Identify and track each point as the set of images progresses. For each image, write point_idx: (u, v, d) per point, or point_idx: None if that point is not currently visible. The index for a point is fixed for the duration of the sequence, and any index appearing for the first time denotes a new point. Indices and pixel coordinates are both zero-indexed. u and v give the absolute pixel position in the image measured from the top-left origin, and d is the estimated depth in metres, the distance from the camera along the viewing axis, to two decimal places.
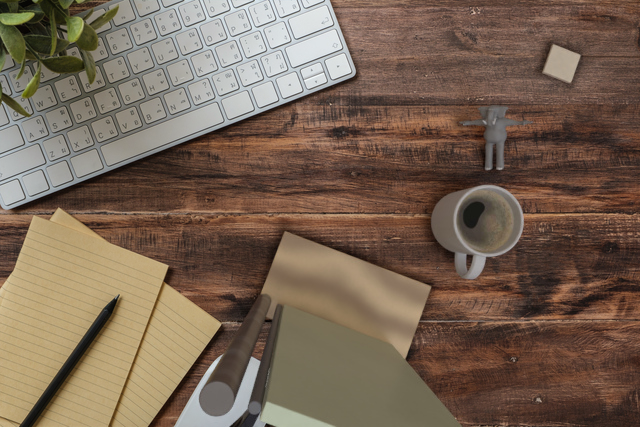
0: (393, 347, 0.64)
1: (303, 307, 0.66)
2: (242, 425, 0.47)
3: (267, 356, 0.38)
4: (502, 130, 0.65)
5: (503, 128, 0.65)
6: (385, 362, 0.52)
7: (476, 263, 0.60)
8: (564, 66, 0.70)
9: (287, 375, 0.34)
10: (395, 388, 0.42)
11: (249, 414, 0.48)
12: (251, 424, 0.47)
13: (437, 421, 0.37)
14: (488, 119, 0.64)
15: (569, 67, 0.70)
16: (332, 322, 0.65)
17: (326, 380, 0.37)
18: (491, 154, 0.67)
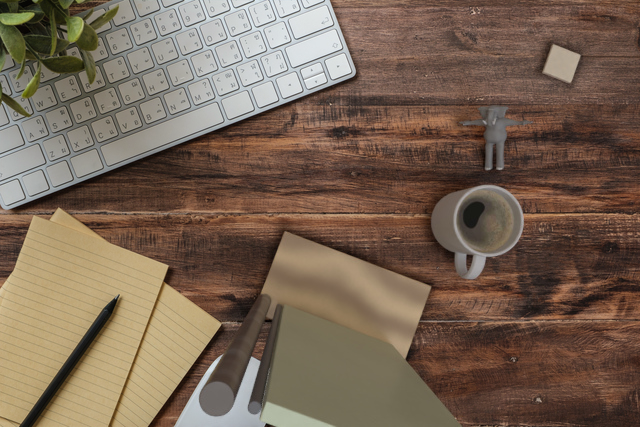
0: (393, 347, 0.64)
1: (303, 307, 0.66)
2: None
3: (267, 356, 0.38)
4: (502, 130, 0.65)
5: (503, 128, 0.65)
6: (385, 362, 0.52)
7: (476, 263, 0.60)
8: (564, 66, 0.70)
9: (287, 375, 0.34)
10: (395, 388, 0.42)
11: None
12: None
13: (437, 421, 0.37)
14: (488, 119, 0.64)
15: (569, 67, 0.70)
16: (332, 322, 0.65)
17: (326, 380, 0.37)
18: (491, 154, 0.67)
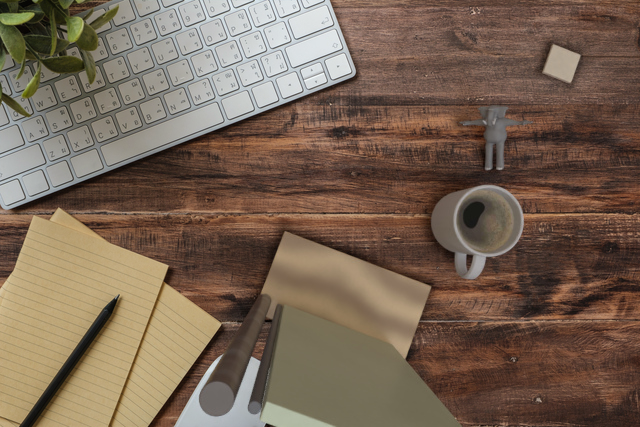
0: (393, 347, 0.64)
1: (303, 307, 0.66)
2: None
3: (267, 356, 0.38)
4: (502, 130, 0.65)
5: (503, 128, 0.65)
6: (385, 362, 0.52)
7: (476, 263, 0.60)
8: (564, 66, 0.70)
9: (287, 375, 0.34)
10: (395, 388, 0.42)
11: None
12: None
13: (437, 421, 0.37)
14: (488, 119, 0.64)
15: (569, 67, 0.70)
16: (332, 322, 0.65)
17: (326, 380, 0.37)
18: (491, 154, 0.67)
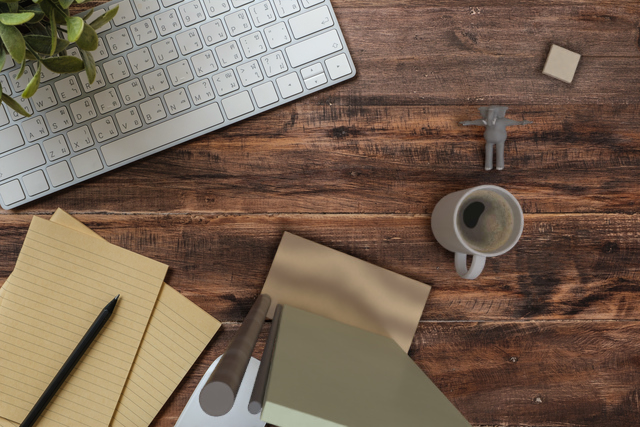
0: (395, 342, 0.64)
1: (303, 307, 0.66)
2: None
3: (267, 356, 0.38)
4: (502, 130, 0.65)
5: (503, 128, 0.65)
6: (386, 357, 0.52)
7: (476, 263, 0.60)
8: (564, 66, 0.70)
9: (287, 374, 0.34)
10: (397, 382, 0.42)
11: None
12: None
13: (439, 413, 0.37)
14: (488, 119, 0.64)
15: (569, 67, 0.70)
16: (333, 320, 0.65)
17: (327, 377, 0.37)
18: (491, 154, 0.67)
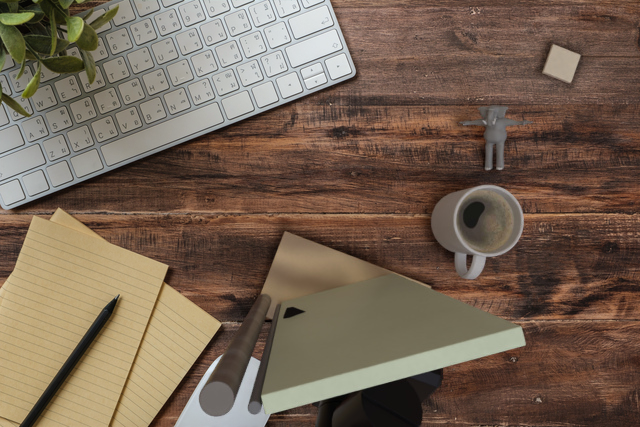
0: (394, 274, 0.64)
1: None
2: None
3: (264, 356, 0.38)
4: (502, 130, 0.65)
5: (503, 128, 0.65)
6: (385, 292, 0.52)
7: (476, 263, 0.60)
8: (564, 66, 0.70)
9: (283, 361, 0.34)
10: (395, 308, 0.42)
11: None
12: None
13: (438, 312, 0.37)
14: (488, 119, 0.64)
15: (569, 67, 0.70)
16: (331, 289, 0.66)
17: (324, 342, 0.37)
18: (491, 154, 0.67)
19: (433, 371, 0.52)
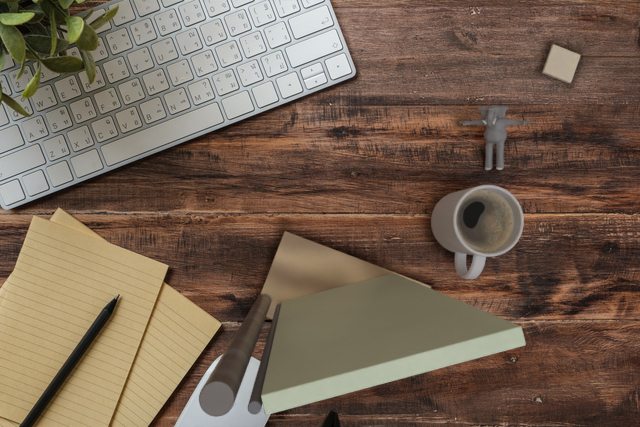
0: (394, 274, 0.64)
1: None
2: None
3: (264, 356, 0.38)
4: (502, 130, 0.65)
5: (503, 128, 0.65)
6: (385, 292, 0.52)
7: (476, 263, 0.60)
8: (564, 66, 0.70)
9: (283, 361, 0.34)
10: (395, 308, 0.42)
11: None
12: None
13: (438, 312, 0.37)
14: (488, 119, 0.64)
15: (569, 67, 0.70)
16: (331, 289, 0.66)
17: (324, 342, 0.37)
18: (491, 154, 0.67)
19: None
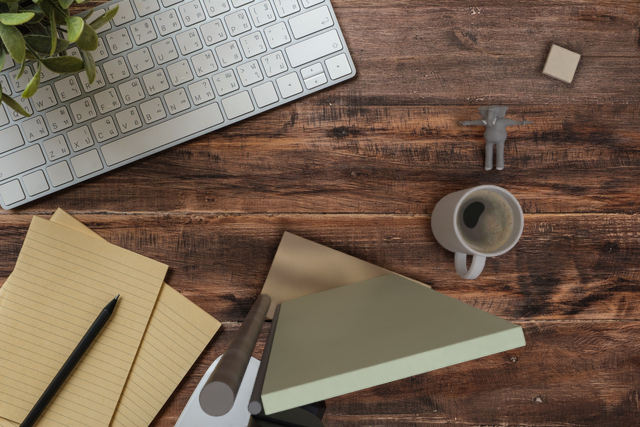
0: (394, 274, 0.64)
1: None
2: None
3: (264, 356, 0.38)
4: (502, 130, 0.65)
5: (503, 128, 0.65)
6: (385, 292, 0.52)
7: (476, 263, 0.60)
8: (564, 66, 0.70)
9: (283, 361, 0.34)
10: (395, 308, 0.42)
11: None
12: None
13: (438, 312, 0.37)
14: (488, 119, 0.64)
15: (569, 67, 0.70)
16: (331, 289, 0.66)
17: (324, 342, 0.37)
18: (491, 154, 0.67)
19: None
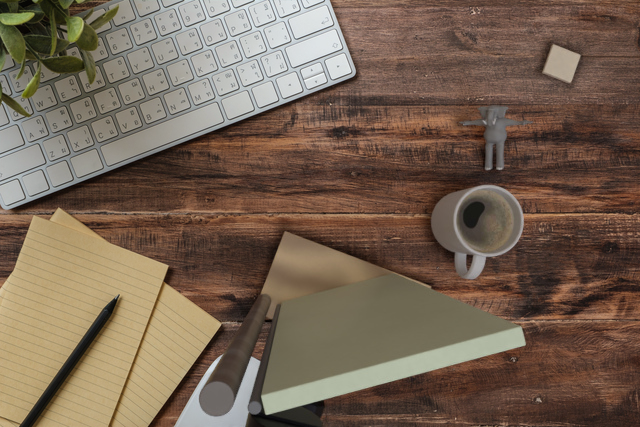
0: (394, 274, 0.64)
1: None
2: None
3: (264, 356, 0.38)
4: (502, 130, 0.65)
5: (503, 128, 0.65)
6: (385, 292, 0.52)
7: (476, 263, 0.60)
8: (564, 66, 0.70)
9: (283, 361, 0.34)
10: (395, 308, 0.42)
11: None
12: None
13: (438, 312, 0.37)
14: (488, 119, 0.64)
15: (569, 67, 0.70)
16: (331, 289, 0.66)
17: (324, 342, 0.37)
18: (491, 154, 0.67)
19: None
